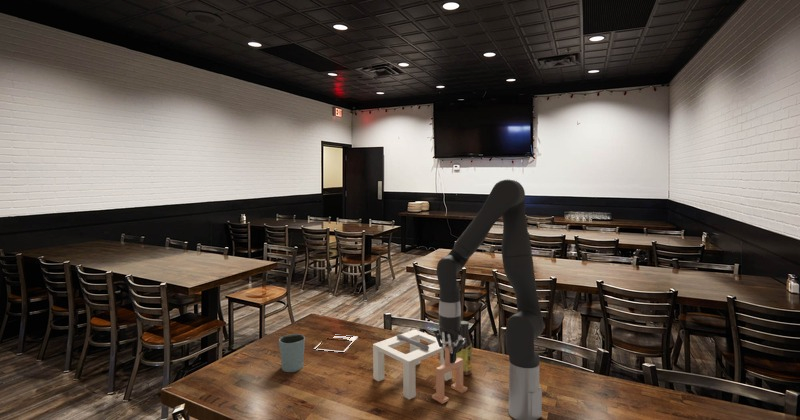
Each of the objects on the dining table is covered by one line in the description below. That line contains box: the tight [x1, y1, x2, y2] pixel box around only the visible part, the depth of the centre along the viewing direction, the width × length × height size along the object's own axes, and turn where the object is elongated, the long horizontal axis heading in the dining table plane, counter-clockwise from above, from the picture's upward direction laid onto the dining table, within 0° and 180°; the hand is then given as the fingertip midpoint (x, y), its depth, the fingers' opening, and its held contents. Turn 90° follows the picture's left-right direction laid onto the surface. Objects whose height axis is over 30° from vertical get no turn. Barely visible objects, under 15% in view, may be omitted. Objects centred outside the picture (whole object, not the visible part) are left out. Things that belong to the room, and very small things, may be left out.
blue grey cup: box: [278, 333, 306, 373], centre depth 162 cm, size 10×10×12 cm
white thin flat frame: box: [313, 335, 359, 353], centre depth 186 cm, size 15×1×18 cm
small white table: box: [372, 329, 453, 400], centre depth 152 cm, size 22×20×15 cm
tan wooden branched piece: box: [431, 346, 468, 405], centre depth 140 cm, size 13×5×17 cm, turn 132°
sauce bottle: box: [456, 320, 473, 376], centre depth 156 cm, size 7×6×20 cm
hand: (449, 361), depth 140 cm, fingers closed on tan wooden branched piece
